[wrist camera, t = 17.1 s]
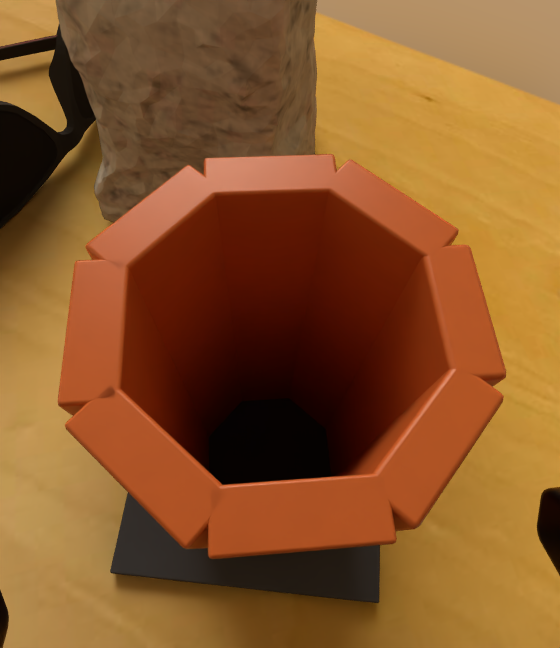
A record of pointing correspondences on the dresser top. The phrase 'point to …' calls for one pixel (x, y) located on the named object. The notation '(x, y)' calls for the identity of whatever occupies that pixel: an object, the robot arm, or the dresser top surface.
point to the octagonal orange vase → (280, 350)
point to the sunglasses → (39, 128)
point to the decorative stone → (190, 85)
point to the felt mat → (248, 467)
